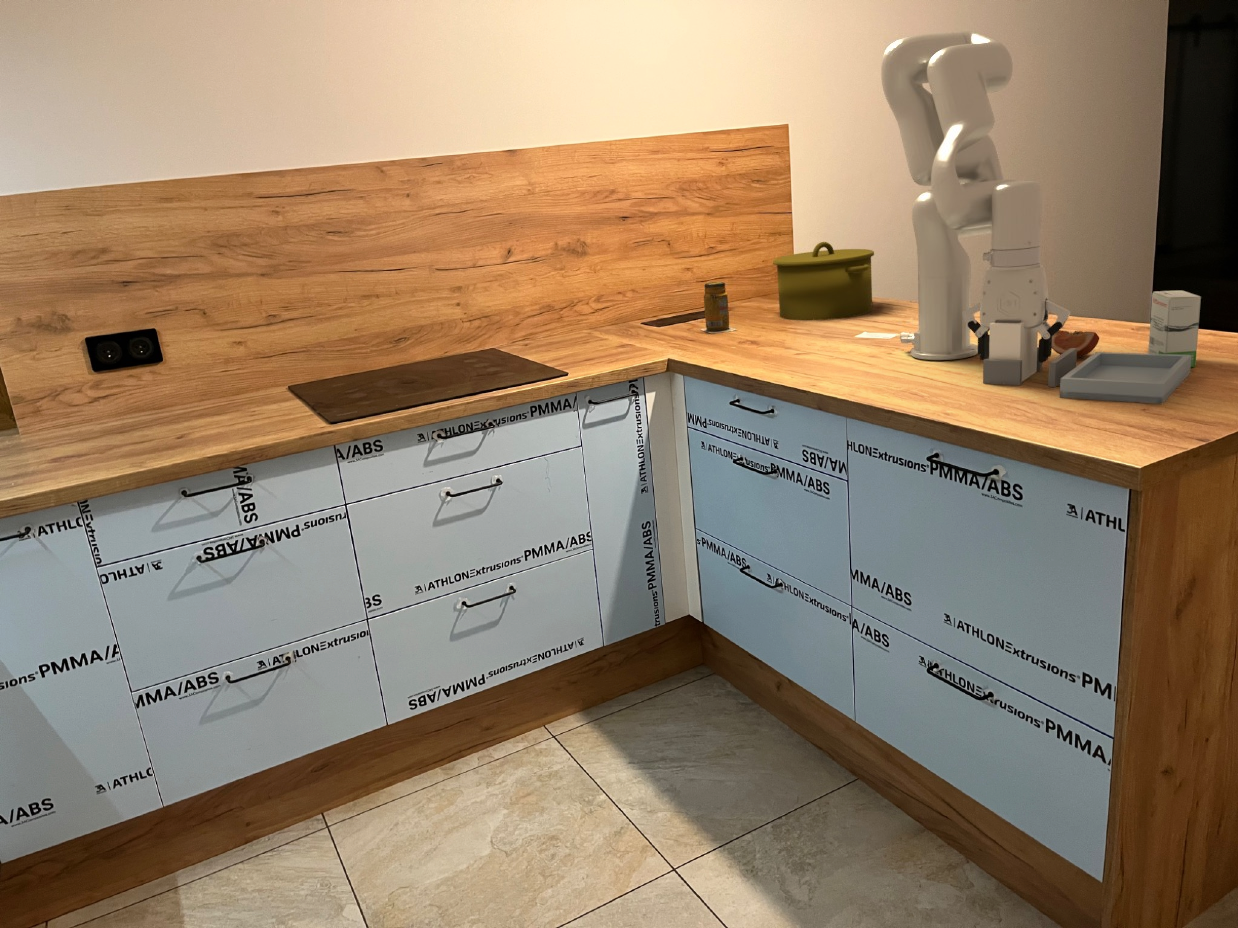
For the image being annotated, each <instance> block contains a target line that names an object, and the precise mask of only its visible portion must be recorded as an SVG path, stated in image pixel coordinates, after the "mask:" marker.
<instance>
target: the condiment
mask: <svg viewBox="0 0 1238 928" xmlns="http://www.w3.org/2000/svg"><path fill="white" fill-rule="evenodd" d="M703 305H704V306H703V307H704V319H705V327H706V328H701V329H700V330H701V331H702V332H706V333H708V334H718V333H721V334H722V333H727V332H728V333H729V332H733V331H737V330H738V329H737V328H734V327H731V326H730V311H729V297H728V293H727V292H726V283H725V282H724V281H712V282H706V283H704V294H703Z"/></svg>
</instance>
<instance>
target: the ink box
mask: <svg viewBox="0 0 1238 928" xmlns="http://www.w3.org/2000/svg"><path fill="white" fill-rule="evenodd" d="M1201 299H1202V296H1200V295H1198V294H1194V293H1191V292H1189V291H1185V290H1160V291H1153V292H1152V295H1151V305H1150V306H1151V308H1150V322H1149V323H1150V324H1149V335H1148V337H1149V338H1148V351H1147V354H1172V355H1191V367H1190V368H1196V366H1197V365H1196V364H1197V350H1198V340H1199V339H1198V338H1199V337H1198V336H1199V328H1200V327H1199V325H1200V312H1201V311H1200V310H1201Z"/></svg>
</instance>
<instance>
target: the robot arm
mask: <svg viewBox="0 0 1238 928" xmlns="http://www.w3.org/2000/svg"><path fill="white" fill-rule="evenodd" d="M880 65H881V66H880V67H881V68H880V71H881V72H880V76H881V85H882V86H881V87H882V90H883V93H884V97H885V99H886V101H887V104H888V105H889V108H890V110H891V111H892V114H893V116H894V117H895V121H896V123H897V126H898V128H899V129H898V130H899V133H900V138H901V142H902V146H903V150H904V154H905V158H906V162H907V166H908V171H909V173H910V177H911V179H912V180H913V182H915V184H917V185H919V186H923V187H931V189H929V190H927V191H924V192H922V193H921V194H920V195H918V197H917V198H916V199H915V200H914V202H913V205H912V208H911V220H912V225H913V230H914V231H913V232H914V236H915V243H916V253H917V277H918V279H917V282H918V283H917V287H918V288H917V289H918V290H917V291H918V292H917V293H918V294H917V295H918V297H917V299H918V302H917V303H918V306H917V307H918V330H917V331H916V332H901V333H900V336H899V341H900V343H901V344H912V345H913V347H912V348H911V349H910V356H912V357H913V358H916V359H920V360H925V361H928V360H929V361H951V360H960V359H967V358H971V357H973V356H976V355H979V360H980V361H983V360H984V359H989V342H990V333H989V332H990V323H992V322H995V321H996V320H1012V321H1021V322H1024V328H1025V329H1030V328H1035V329H1036V330H1037V331H1038V334H1039V335H1040V336H1041V338H1040V339H1039V340H1038V347H1039V351H1038V362H1040V363H1042V364H1043V363H1045V362H1046V361H1048V360H1049V358H1050V357H1051V356H1052V352H1053V351H1052V350H1053V349H1052V336H1053V335H1054V334H1055V333H1056V332H1058V331H1059V330H1061V329H1062V328H1063V327H1064V325H1065V324H1066V322H1067V320H1068V319H1069V317H1070V315H1071V311H1070V310H1069V309H1067V308H1065V307H1063V306H1061V305H1059V304H1057V303H1055V302H1053V301H1051V300H1049V289H1048V281H1047V280H1048V279H1047V273H1046V268H1045V265H1043V264H1041V249H1042V248H1041V247H1042V246H1041V236H1042V208H1043V207H1042V204H1043V189H1042V185H1041V184H1040V182H1039V181H1036V180H1032V179H1031V180H1029V179H1028V180H1016V179H1010V178H1009V179H1004V175H1003V172H1002V168H1001V164H1000V159H999V156H998V155H999V154H998V151H997V148H996V146H995V143H994V141H993V139H992V138H991V137H990V136H989V133H990V132H991V131H992V129H993V128H994V125H995V122H996V121H995V116H994V113H993V109H992V106H991V102H990V100H989V96H988V94H990V93H998V92H1000V91H1002V90H1003V89H1005V88H1006V87H1007V86H1008V84H1009V83H1010V81H1011V79H1012V75H1013V70H1014V67H1013V59H1012V56H1011V53H1010V51H1009V50H1008V48H1007V47H1006V46H1005V44H1003V43H1002V42H1001V41H999V40H997V39H995V38H992V37H989V36H986V35H983V34H981V33H978V32H976V31H972V30H971V31H970V30H957V31H947V32H938V33H937V32H936V33H925V34H917V35H912V36H907V37H903V38H900V39H897V40H895V41H894V42H892V43H891V44H890V45H889V46H888V47H887V48H886V49H885V51H884V53H883V56H882V59H881V64H880ZM923 84H928V85H929V89H930V91H928V90H927V89H926V88H925V87H924V85H923ZM961 183H963V184H961ZM988 234H991V240H990V243H991V244H990V245H991V246H990V248H991V249H989V251H988V252H983V254H982V260H983V261H985V262H986V261H987V262H989V266H990V267H987V268H986V269H985V270H984V275H983V281H982V287H981V289H982V290H981V294H980V295H981V298H980V302H978V303H977V304H974V305H973V306H971V285H972V284H971V282H972V280H971V276H972V275H971V272H972V271H971V269H972V268H971V259H970V256H969V255H968V252H967V251H966V248H964V246H963V245H962V243H961V242H960V239H961V238H966V237H973V236H974V237H975V236H979V235H988ZM978 312H979V321H977V319H976V317H975V314H977V313H978ZM1049 312H1050V313H1052V314H1054V315H1056V316H1057V319H1056V320H1055V322H1054V323H1053V324H1052V325H1051V324H1050V323H1048V320H1049V314H1050V313H1049ZM971 332H973V334H974V336H975V337H976V338H977V344H974V343H971Z"/></svg>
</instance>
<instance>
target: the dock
mask: <svg viewBox="0 0 1238 928" xmlns="http://www.w3.org/2000/svg"><path fill="white" fill-rule="evenodd" d="M1038 351H1039V346H1037V372H1041V371H1043V363H1040V362H1038ZM1077 359H1078V358H1077V348H1070V349H1068V350H1067V351H1066V352H1064V353H1063V354H1061V355H1060V354H1059V356H1057V357H1056V358H1054V359H1053V360H1051V361H1050V362H1049V363H1048V384H1047V385H1048V388H1056V387H1058V386H1060V381H1061V378H1062V377H1063V376H1065V375H1066V374H1067V373H1069V372H1070V371H1071V370H1073V369H1074V368H1075V367H1077ZM982 361H983V362H982V364H983V365H982V376H983V377H982V383H983V384H989V385H991V384H993V385H1006V386H1007V385H1008V386H1021V385H1023V384H1022V382H1023V381H1022V360H1001V359H989V358H987V359H984V360H982Z"/></svg>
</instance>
